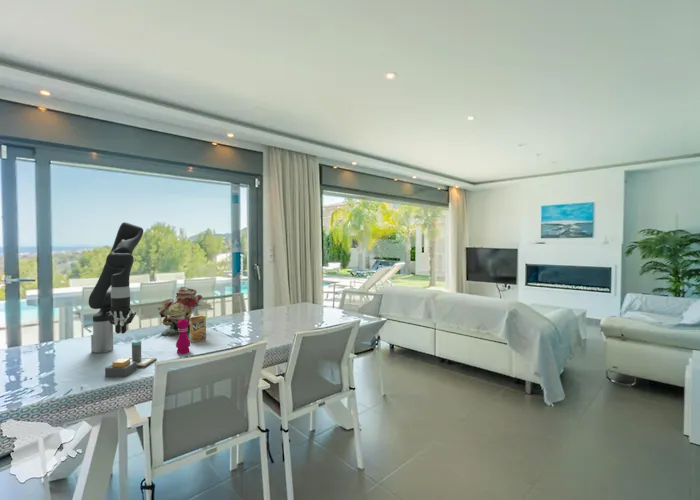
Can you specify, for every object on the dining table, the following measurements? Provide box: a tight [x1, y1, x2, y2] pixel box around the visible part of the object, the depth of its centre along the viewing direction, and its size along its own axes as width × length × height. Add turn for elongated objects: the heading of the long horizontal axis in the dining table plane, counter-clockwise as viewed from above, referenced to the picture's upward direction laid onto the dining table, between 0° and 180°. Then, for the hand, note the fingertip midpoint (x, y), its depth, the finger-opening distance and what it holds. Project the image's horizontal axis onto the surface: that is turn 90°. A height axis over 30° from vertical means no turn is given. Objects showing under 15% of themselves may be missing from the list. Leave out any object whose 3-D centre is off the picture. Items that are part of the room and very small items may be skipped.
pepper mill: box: [175, 317, 191, 355], centre depth 194 cm, size 7×7×20 cm
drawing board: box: [128, 357, 157, 369], centre depth 176 cm, size 14×11×1 cm
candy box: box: [189, 314, 207, 343], centre depth 216 cm, size 9×4×15 cm, turn 125°
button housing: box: [104, 361, 138, 378], centre depth 164 cm, size 9×9×4 cm
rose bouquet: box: [157, 286, 203, 337], centre depth 236 cm, size 26×29×30 cm
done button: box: [111, 358, 130, 367], centre depth 164 cm, size 5×5×4 cm
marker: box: [131, 340, 142, 363], centre depth 176 cm, size 4×4×10 cm
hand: (121, 332), depth 163 cm, fingers closed
